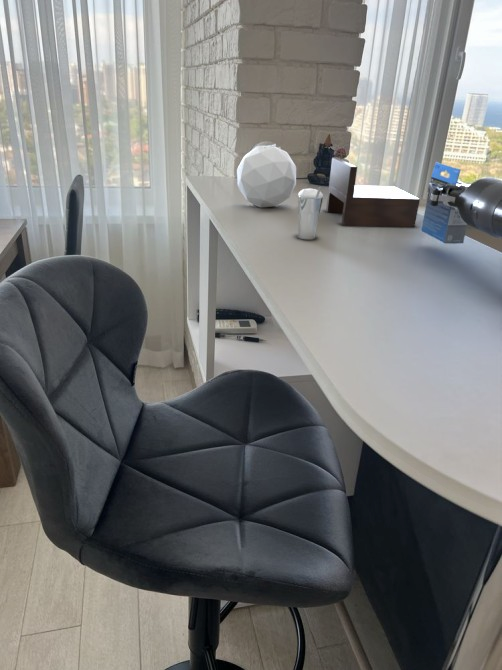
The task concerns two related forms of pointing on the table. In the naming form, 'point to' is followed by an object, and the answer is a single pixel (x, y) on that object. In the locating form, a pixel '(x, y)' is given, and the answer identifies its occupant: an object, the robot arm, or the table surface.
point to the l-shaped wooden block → (368, 200)
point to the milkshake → (309, 212)
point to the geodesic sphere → (266, 176)
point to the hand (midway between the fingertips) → (443, 187)
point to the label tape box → (444, 212)
